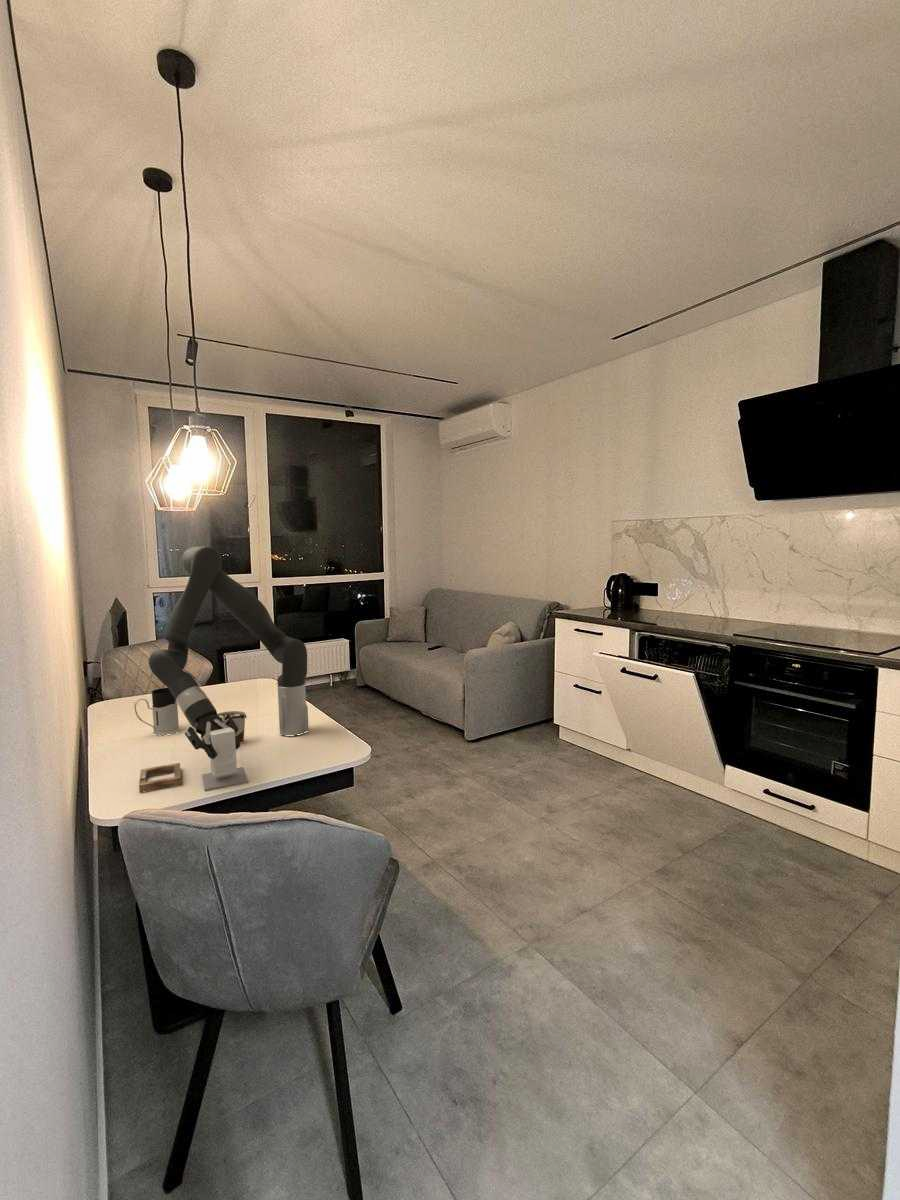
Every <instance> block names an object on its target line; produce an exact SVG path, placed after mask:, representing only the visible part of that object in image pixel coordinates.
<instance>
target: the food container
mask: <svg viewBox="0 0 900 1200" xmlns="http://www.w3.org/2000/svg"><path fill="white" fill-rule="evenodd" d="M227 714H229V715H230V716H231V718H232V719H233V721H234V722H235V724H236V726H237V727H238V729H239V730H238V731H237V733H236V734H235V736H236V738H237V739H238V741H239V742H240V744H242V743H241V742H243V743H245V725H246V719H247V718H248V717H247V714H246V712H244V711H242V710H240V711H239V710H234V711H233V710H231V711H230V710H228V711H224V712H219V713H218V712H217V715H218V716H219V717H221V718H222V717H225V716H226V715H227ZM223 724H224V723H223ZM233 730H234V729H233Z"/></svg>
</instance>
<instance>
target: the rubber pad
mask: <svg viewBox="0 0 900 1200" xmlns="http://www.w3.org/2000/svg"><path fill="white" fill-rule="evenodd" d="M201 776H202V782H203V783H202V784H203V788H204V792H207V791H213V790H217V789H223V788H227V787H232V786H238V785H243V784H248V783H249V779H248V777H247V774H246V771H245V768H244V766H239V767H237V772H234V773H230V774H226V775H222V776H218V777H215V776H214V775H213V774H212V773H211V772H207V773H203V774H201Z"/></svg>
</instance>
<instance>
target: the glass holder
mask: <svg viewBox="0 0 900 1200" xmlns="http://www.w3.org/2000/svg"><path fill="white" fill-rule="evenodd" d="M151 698H152V699H151V700H152V701H151V702H152V706H151V707H150V704H149V701H148V700H147V699H145V698H139V699H137V700H136V701H135V702H134V712H135V715H136V718H137V719H138V720H139V721H140V722H142V723H144V724H145V725H148V726H150V727H152V728H153V732H152V735H153V734H156V735H167V734H172V733H175V734H177V733H176V732H178V731H179V730H180V731H181V727H180V725H179V709H178V708H179V706H178V703H177V701H176V699H175V698H174V696H173V695H172V693H171V691H170V690H169V688H168V687H162V688H157V689H154V690H152V691H151ZM142 700H143V701H145V702H146V706H147V709H149V710H151V711H152V721H153V725H152V724H150V723H148V722H146V721H144V720H143V719H142V718H141V717H140V716H139V714H138V711H137V704H138V702H140V701H142ZM180 731H179V732H180ZM179 732H178V733H179ZM172 735H173V734H172ZM167 736H168V735H167Z"/></svg>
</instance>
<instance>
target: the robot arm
mask: <svg viewBox="0 0 900 1200" xmlns="http://www.w3.org/2000/svg"><path fill="white" fill-rule="evenodd" d="M222 560H223V559H222V556H221V553H220V552H219V551H218V549H216V548H215V547H212V546H207V545H206V546H205V545H203V546H202V545H201V546H200V545H199V546H192V547H190V548H188V549H186V550H185V551H184V553H183V555H182V559H181V562H182V565H183V567H184V570H186V572H187V573H188V574H189V577H188V581H187V584H186V587H184V591H183V592H182V594H181V596H180V598H179V599H178V600H177V602H176V604H175V605H174V607H173V610H172V611H171V612H170V616H169V618H168V620H167V623H166V626H165V629H164V631H163V632H164V633H163V638H164V640H166V641H167V642H168V645H167V646H168V647H167V649H164V648H161V649H156V650H154V651H153V652H152V653H151V654H150V656H149V658H148V665H149V669H150V670H151V672H152V673H153V675H154V676H155V677H156V678H157V679H158V680H159V681H160V682H161V683H162V684H163V685H164V686H165V687H166V688H169V690H170V691H171V693H172V695H173V696H174V698H175V699H176V701H177V706H178V708H179V709H180V710H181V712H182V713H183V715H184V717H185V718H186V720H187V721H188V723H189V724H190V727H188V728H187V730H185V733H184V735H185V736H186V738H187V740H188V741H189V742H190V744H191V745H192V747H193V748H194V749H195V750H199V749H201V750H203V751H204V752H205V753H206V755H207V757H208V758H209V759H210V758H211V759H215V758H216V757H217V755H218V754H217V752H216V751H215V749H214V748H213V746H212V745H211V744H209V743H210V731H214V730H219V729H224V728H229V727H230V728H232V729H234V731H235V734H236V733H237V731H238V730H239V729H238V727H237V726H236V724H235V722H234V721H233V719H232V718H231V716H230V715H229V714H227V715H226V716H225V717H222V718H221V717H219V716H218V715H217V714H218V712H217V709H216V708H215V706H214V705H213V703H212V701H211V700H210V697H208V696H207V694H206V692H205V691H204V689H202V688H201V686H200V685H199V684H198V682H197V681H196V679H195V678H194V676H193V675H192V674H191V673H188V672H187V671H185V670H184V669H185V668H186V665H187V661H188V659H189V658H188V656H189V647H190V646H189V645H190V643H189V642H190V638H191V636H192V632H193V630H194V626H195V624H196V620H197V618H198V616H199V612H200V609H201V607H202V605H203V603H204V600H205V598H206V596H207V594H208V592H209V591H210V592H211V593H212V594H213V595H214V597H215V598H216V599H217V600H218V601H219V602H220V603H221V604H222V606H223V607H224V608H226V609H227V611H228V612H229V613H230V614H231V615H232V616H233V617H234V618H235V619H236V620H237V621H238V622H239V623H240V624H241V625H242V626H243V627H244V628H246V629H247V630H248V631H249V632H250V633H251V634H252V635H253V636H255V637H256V638H257V639H258V640H259V641H260V642H261V643H262V645H263V646H264V647H265V648H266V650H267V651H268V652H269V654H270V655H271V656H272V657H273V659H275V660H276V661H277V662H278V663H280V664H281V668H282V670H281V675H279V676H278V677H277V679H276V680H277V697H278V698H277V702H278V704H277V705H278V720H279V724H278V725H279V727H278V728H279V735H280V734H282V735H297V734H301V733H304V732H306V731H309V708H308V707H309V706H308V704H307V697H306V696H307V695H306V694H307V693H306V678H307V675H308V649H307V647H306V645H305V643H304V642H303V641H302V640H301V639H298V638H292V637H289V636H288V635H287V634H285V633H284V632H283V631H282V630H280V628H279V627H277V625H276V624H275V623H274V621H273V619H272V617H271V615H270V613H269V611H268V609H267V607H266V606H265V605H264V604H263V602H262V601H260V599H259V598H258V597H257V596H256V595H255V594H254V593H253V592H252V591H250V590H249V589H248V588H246V587H245V586H244V585H242V584H241V583H239V582H237V581H236V580H235V579H233V578H232V577H230V576H229V575H228V573H226V572H225V571H224V570H223V568H222V564H223V562H222ZM223 723H224V724H223ZM198 734H199V735H200V736H199V735H198ZM304 734H305V733H304ZM282 735H281V736H282ZM235 745H236V751H237V750H238V749H239V748H240V747H241V743H240V742H239V741H238V739H237V738H236V736H235Z"/></svg>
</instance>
